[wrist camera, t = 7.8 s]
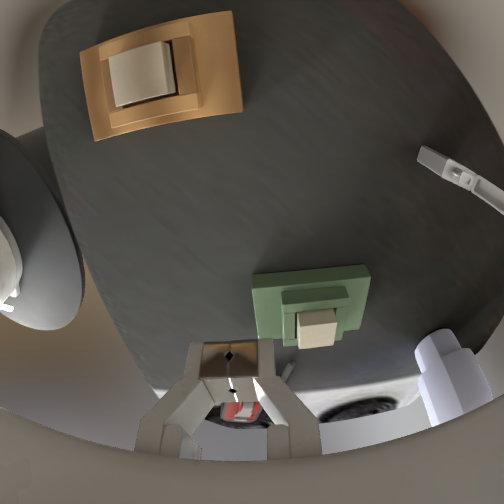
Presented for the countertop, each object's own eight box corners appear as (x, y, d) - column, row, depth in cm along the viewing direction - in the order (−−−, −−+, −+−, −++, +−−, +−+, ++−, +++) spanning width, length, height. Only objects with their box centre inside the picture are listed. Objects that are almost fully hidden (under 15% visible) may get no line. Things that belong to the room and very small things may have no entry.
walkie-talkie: (264, 411, 48) (299, 354, 37) (265, 431, 44) (303, 381, 33) (218, 407, 47) (235, 348, 36) (217, 428, 43) (234, 376, 32)
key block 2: (258, 326, 33) (258, 352, 30) (251, 274, 29) (251, 301, 26) (354, 315, 33) (363, 340, 30) (364, 263, 28) (377, 288, 25)
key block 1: (106, 135, 21) (83, 147, 17) (92, 53, 16) (67, 51, 13) (244, 109, 20) (242, 114, 17) (233, 16, 16) (230, 3, 12)
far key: (296, 334, 29) (299, 349, 27) (297, 311, 27) (299, 326, 25) (329, 330, 29) (333, 345, 27) (333, 306, 27) (337, 322, 25)
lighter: (416, 160, 22) (467, 196, 15) (421, 144, 21) (476, 174, 14) (462, 182, 23) (510, 219, 16) (468, 168, 22) (518, 202, 15)
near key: (127, 103, 16) (115, 107, 15) (121, 58, 14) (107, 56, 13) (176, 92, 16) (168, 93, 14) (169, 44, 14) (161, 40, 12)
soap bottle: (439, 314, 34) (502, 457, 14) (466, 327, 36) (520, 443, 16) (394, 357, 39) (434, 492, 19) (426, 363, 42) (465, 476, 21)
